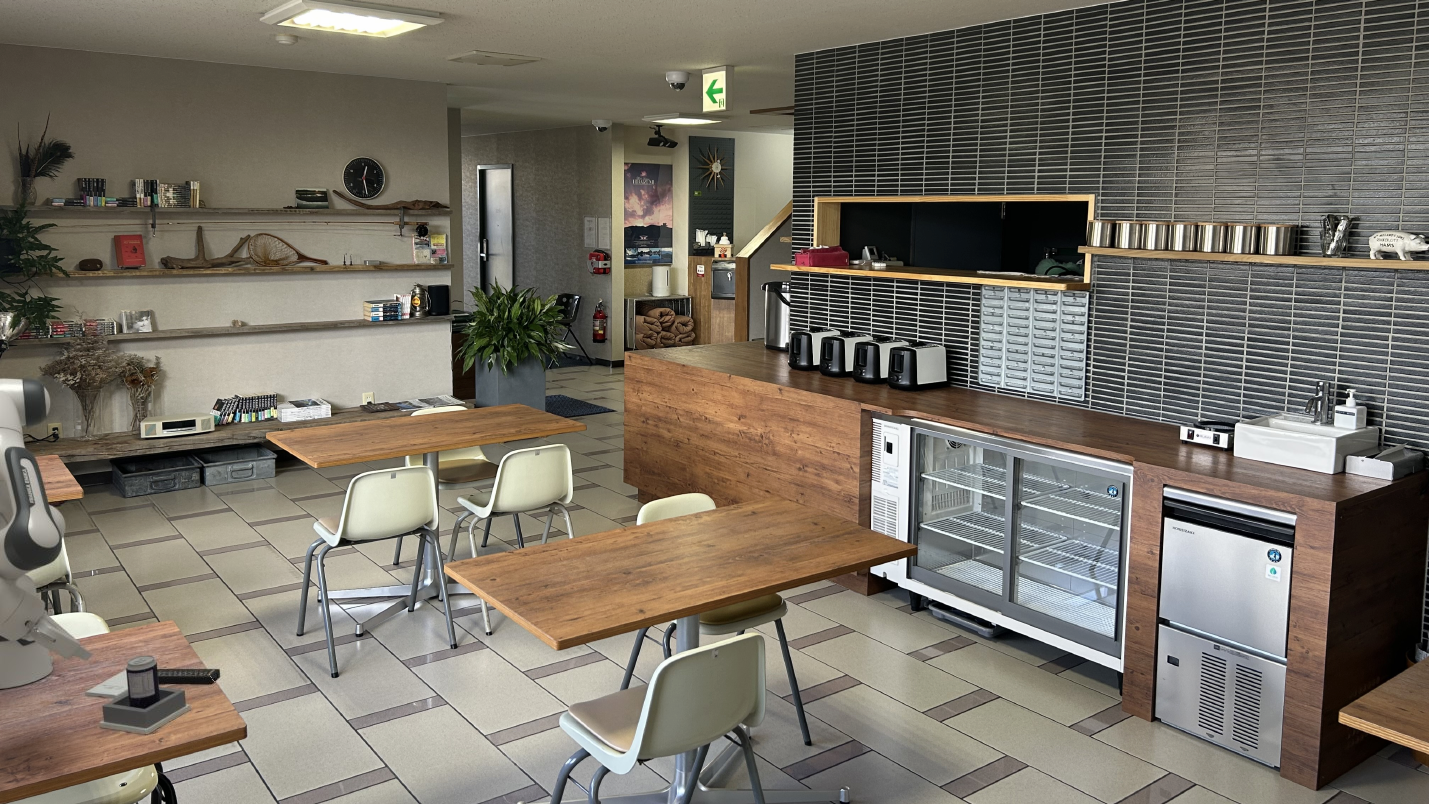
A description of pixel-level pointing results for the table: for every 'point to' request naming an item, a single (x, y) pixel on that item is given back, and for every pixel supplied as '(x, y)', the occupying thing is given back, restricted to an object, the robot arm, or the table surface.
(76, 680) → the table surface
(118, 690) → the external hard drive
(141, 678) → the beverage can
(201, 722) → the table surface
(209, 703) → the table surface
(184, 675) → the multiport hub
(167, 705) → the square holder
